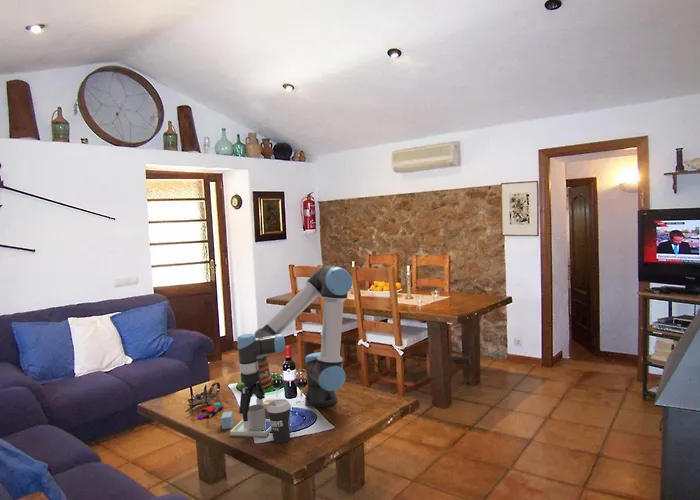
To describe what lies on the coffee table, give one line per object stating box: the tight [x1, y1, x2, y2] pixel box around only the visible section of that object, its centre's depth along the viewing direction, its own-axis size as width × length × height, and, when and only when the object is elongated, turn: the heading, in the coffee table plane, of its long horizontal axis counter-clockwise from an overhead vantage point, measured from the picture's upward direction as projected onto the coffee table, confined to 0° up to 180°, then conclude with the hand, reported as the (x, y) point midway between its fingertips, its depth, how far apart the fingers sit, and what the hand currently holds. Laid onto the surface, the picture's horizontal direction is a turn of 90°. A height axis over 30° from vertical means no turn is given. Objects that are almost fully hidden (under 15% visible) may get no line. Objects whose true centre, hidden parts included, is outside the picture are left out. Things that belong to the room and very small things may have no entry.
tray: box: [229, 418, 271, 438], centre depth 209 cm, size 16×13×2 cm
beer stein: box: [243, 354, 273, 390], centre depth 264 cm, size 19×15×20 cm
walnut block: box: [264, 405, 269, 418], centre depth 221 cm, size 5×5×5 cm
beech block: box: [263, 397, 277, 405], centre depth 230 cm, size 6×4×4 cm, turn 152°
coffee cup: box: [267, 398, 292, 444], centre depth 197 cm, size 10×10×15 cm
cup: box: [248, 403, 266, 431], centre depth 209 cm, size 7×10×9 cm
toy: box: [197, 402, 227, 421], centre depth 231 cm, size 8×4×15 cm
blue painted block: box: [220, 411, 234, 430], centre depth 215 cm, size 4×6×5 cm, turn 7°
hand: (254, 420), depth 209 cm, fingers open, 13 cm apart
